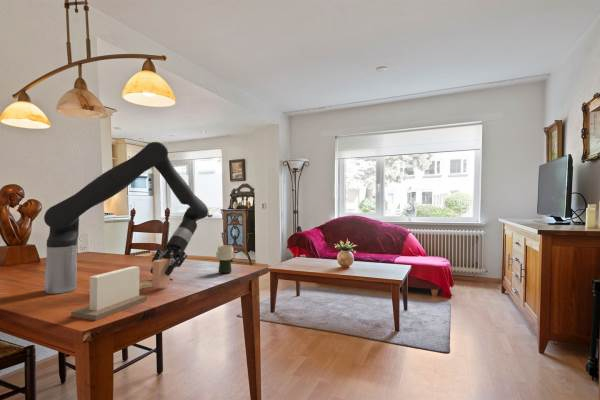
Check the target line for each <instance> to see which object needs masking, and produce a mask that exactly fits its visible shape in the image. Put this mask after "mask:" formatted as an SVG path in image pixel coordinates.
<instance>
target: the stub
mask: <svg viewBox="0 0 600 400" xmlns="http://www.w3.org/2000/svg"><path fill="white" fill-rule="evenodd" d="M170 262H171V261H170V259H165V258H162V259H159V260H155V261H153V262H152V267H153V274H152V279H151V280H152V286H151V287H152V288H156V289H157V288H161V287H164V286H168V285H170V284H171V283H170V282H171V280H170V279H171V274H170V275H169V276H167V275H166V274H165V271H166V270H167V268H168V266H169V265H170Z"/></svg>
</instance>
